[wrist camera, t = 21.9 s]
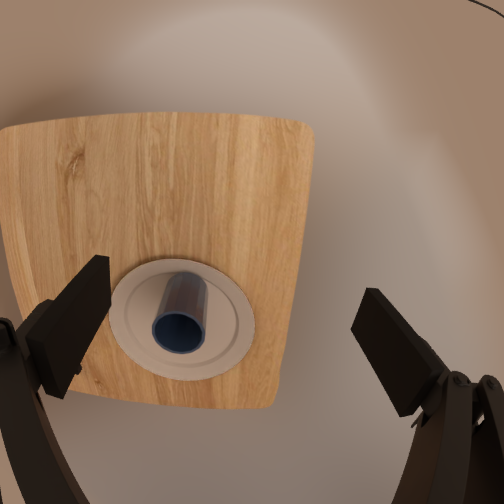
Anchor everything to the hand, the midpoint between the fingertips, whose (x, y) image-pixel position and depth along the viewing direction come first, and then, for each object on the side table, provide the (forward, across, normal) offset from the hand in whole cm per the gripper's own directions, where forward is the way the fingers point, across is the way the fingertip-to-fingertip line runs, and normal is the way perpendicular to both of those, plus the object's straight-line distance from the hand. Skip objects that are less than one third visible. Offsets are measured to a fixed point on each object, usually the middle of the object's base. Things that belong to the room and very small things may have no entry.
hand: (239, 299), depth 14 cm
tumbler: (+28, +4, +16) cm, 33 cm away
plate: (+30, +5, +24) cm, 39 cm away
